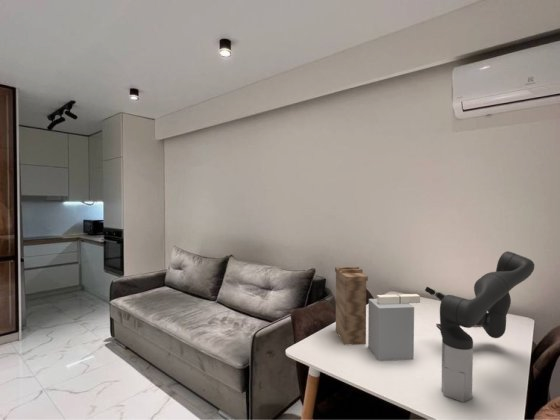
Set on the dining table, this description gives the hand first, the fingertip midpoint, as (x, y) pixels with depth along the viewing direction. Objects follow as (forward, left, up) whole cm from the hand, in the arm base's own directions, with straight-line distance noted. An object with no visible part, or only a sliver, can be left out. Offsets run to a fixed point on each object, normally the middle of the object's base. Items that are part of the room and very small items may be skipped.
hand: (431, 291), depth 136 cm
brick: (+49, -12, -27) cm, 57 cm away
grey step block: (-13, +13, -26) cm, 32 cm away
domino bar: (-10, +11, -4) cm, 15 cm away
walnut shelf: (-10, +34, -26) cm, 44 cm away
